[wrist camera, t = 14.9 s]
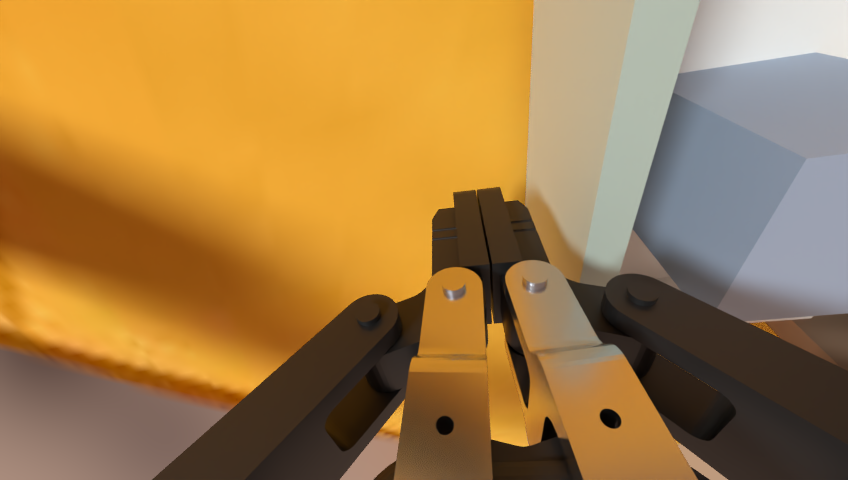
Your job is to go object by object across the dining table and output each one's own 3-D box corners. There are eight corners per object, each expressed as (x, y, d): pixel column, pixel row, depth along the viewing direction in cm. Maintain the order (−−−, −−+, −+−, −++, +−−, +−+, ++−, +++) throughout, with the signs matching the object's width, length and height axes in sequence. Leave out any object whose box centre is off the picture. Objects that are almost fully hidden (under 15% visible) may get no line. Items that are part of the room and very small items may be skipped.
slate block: (614, 206, 14) (707, 324, 9) (645, 78, 11) (806, 158, 6) (745, 191, 13) (913, 308, 9) (816, 52, 10) (1134, 118, 6)
